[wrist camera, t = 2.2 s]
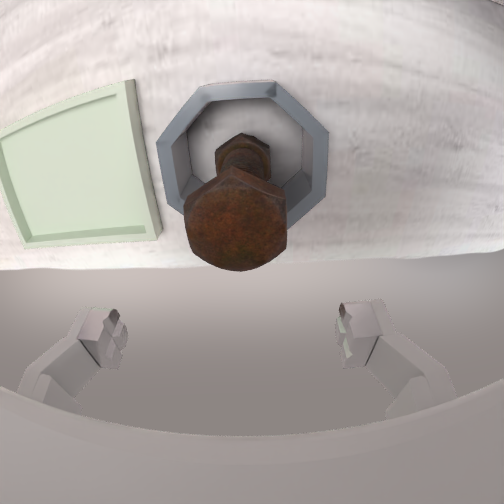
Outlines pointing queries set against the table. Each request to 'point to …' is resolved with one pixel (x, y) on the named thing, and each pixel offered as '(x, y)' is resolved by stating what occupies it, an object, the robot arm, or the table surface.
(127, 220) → the tray
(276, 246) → the bolt
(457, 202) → the table surface
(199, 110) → the grey octagonal ring
